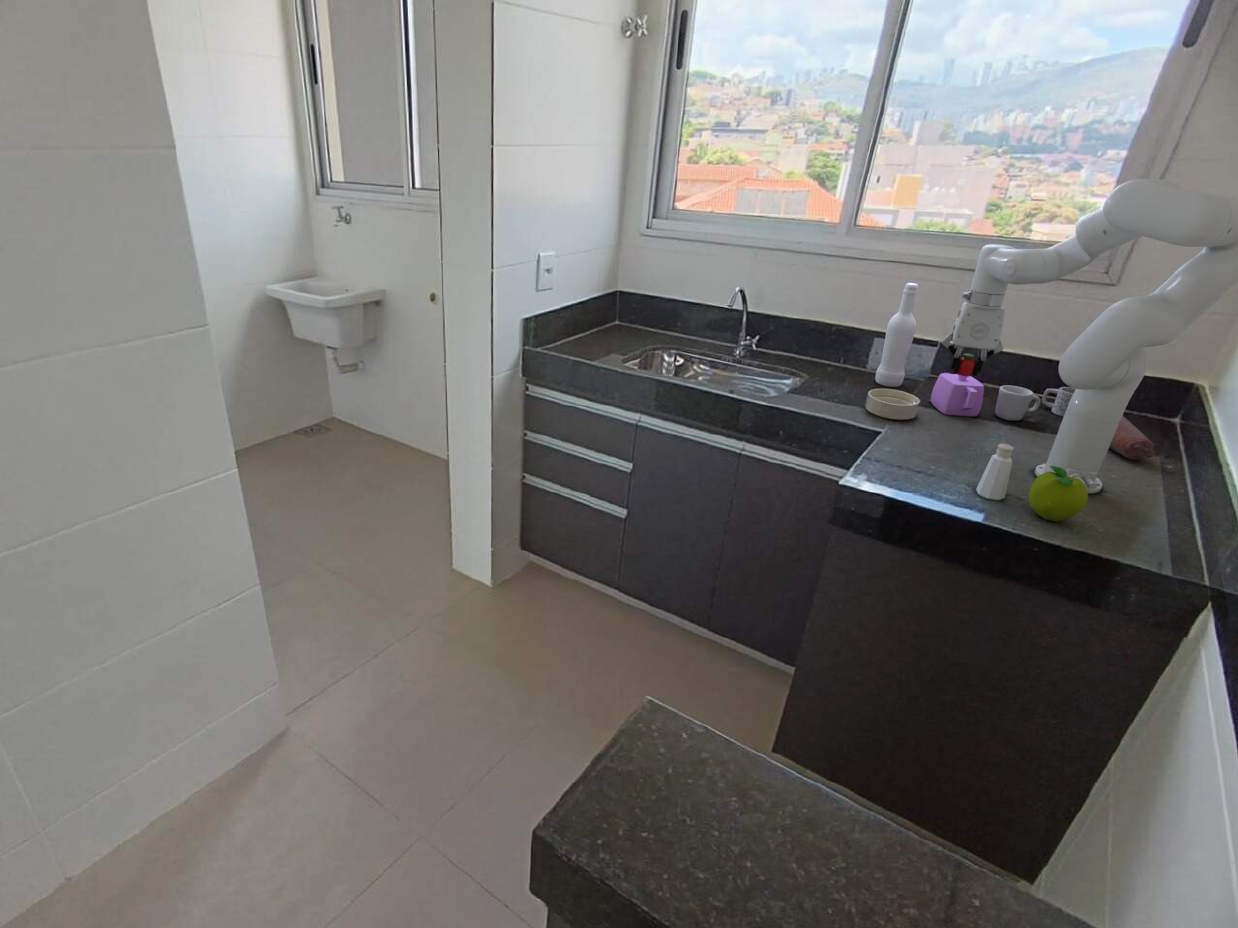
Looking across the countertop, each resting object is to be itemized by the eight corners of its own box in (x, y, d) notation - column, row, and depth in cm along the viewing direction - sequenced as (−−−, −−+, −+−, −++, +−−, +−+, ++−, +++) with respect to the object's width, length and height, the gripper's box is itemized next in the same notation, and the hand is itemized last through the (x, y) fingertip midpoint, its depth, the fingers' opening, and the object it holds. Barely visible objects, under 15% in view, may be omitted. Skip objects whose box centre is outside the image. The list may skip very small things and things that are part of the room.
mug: (1081, 414, 184) (1090, 392, 181) (1074, 419, 180) (1083, 396, 177) (1043, 404, 191) (1050, 382, 188) (1035, 408, 187) (1043, 386, 184)
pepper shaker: (977, 485, 139) (993, 438, 135) (1006, 493, 137) (1023, 445, 132) (973, 494, 135) (989, 446, 131) (1002, 503, 133) (1020, 454, 128)
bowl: (919, 424, 170) (924, 408, 169) (867, 417, 173) (871, 401, 171) (911, 407, 182) (915, 392, 180) (862, 401, 184) (866, 386, 182)
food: (1067, 429, 173) (1079, 397, 169) (1102, 430, 174) (1115, 399, 170) (1124, 463, 154) (1139, 428, 150) (1163, 465, 154) (1179, 430, 151)
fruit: (1024, 522, 126) (1042, 475, 122) (1020, 501, 134) (1037, 457, 129) (1080, 535, 123) (1100, 487, 118) (1072, 513, 130) (1091, 468, 126)
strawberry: (974, 377, 162) (979, 358, 160) (956, 375, 162) (962, 356, 160) (970, 372, 165) (975, 353, 163) (953, 370, 166) (958, 351, 164)
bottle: (883, 377, 206) (906, 280, 193) (907, 384, 200) (932, 285, 187) (868, 381, 201) (891, 282, 188) (893, 389, 196) (918, 287, 182)
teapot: (921, 396, 191) (930, 362, 187) (957, 398, 191) (967, 364, 187) (946, 419, 175) (957, 382, 170) (986, 421, 175) (998, 385, 170)
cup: (1026, 414, 182) (1036, 387, 178) (1040, 425, 175) (1050, 397, 171) (986, 411, 182) (995, 383, 179) (998, 421, 175) (1007, 393, 172)
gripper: (951, 299, 154) (930, 373, 162) (1028, 306, 151) (1004, 382, 159) (944, 293, 161) (925, 365, 169) (1018, 300, 158) (995, 373, 166)
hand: (963, 372), depth 164 cm, fingers closed on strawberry, 4 cm apart
